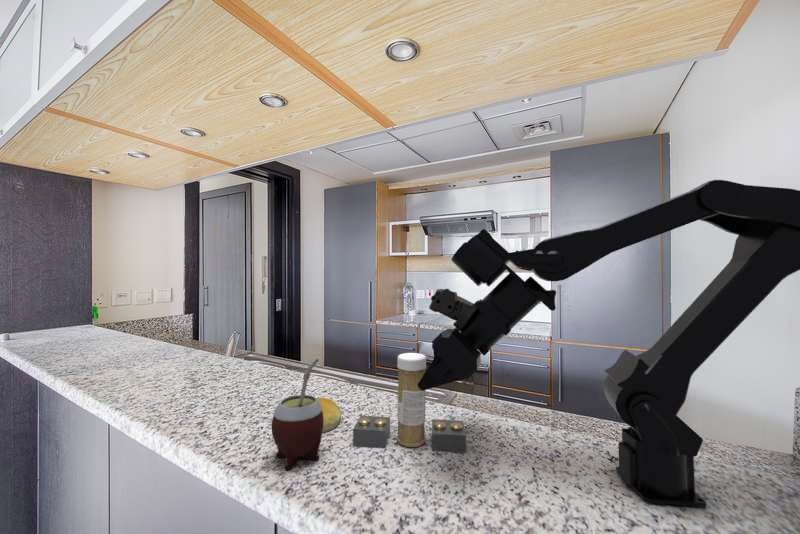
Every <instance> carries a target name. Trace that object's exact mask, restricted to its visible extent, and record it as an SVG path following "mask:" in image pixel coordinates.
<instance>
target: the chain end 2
mask: <svg viewBox="0 0 800 534" xmlns="http://www.w3.org/2000/svg"><path fill="white" fill-rule="evenodd" d="M431 421H432V422H431V451H432V452H443V453H444V452H446V453H462V454H463V453H465V454H467V434H466V429H465V428H466V427H465V422H464V421H463V420H452V419H435V418H434V419H432V420H431Z"/></svg>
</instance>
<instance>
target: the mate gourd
mask: <svg viewBox="0 0 800 534" xmlns="http://www.w3.org/2000/svg"><path fill="white" fill-rule="evenodd" d="M319 361H320V359H319V358H317V359H315V360H314V361H312V362H311V363H310V364H309V366H308V367H307V369H306V370H305V371H304V373H303V377H302V378H303V381H302V386H301V391H300V394H299V395H291V396H289V397H286V398H284V399H282V400H280V402H278V404H277V406H275V410H274V412H273V415H272V416H273V417H272V420H271V434H272V439H273V441H274V443H275V446H276V447H277V453H276V454H275V458H276V459H281V460H286V465H285V466H284V471H285V472H291V470H293V469H294V467H295V466H296V465H297V463H298V462H301V461H303V462H319V460H320V455H318V454H319V453H318V452H319V448H320V446H321V443H322V442H321V441H322V434H323V433H322V430H323V423H324V420H323V411H322V405H321V404H320V402H319V401H318V399H316V398H317V397H315V396H312V395H310V394H306V391H307V385H308V382H309V379H310V376H311V371H312V370H313V368H314V367H315V365H316V364H317V363H318V362H319ZM305 394H306V395H305Z"/></svg>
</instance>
